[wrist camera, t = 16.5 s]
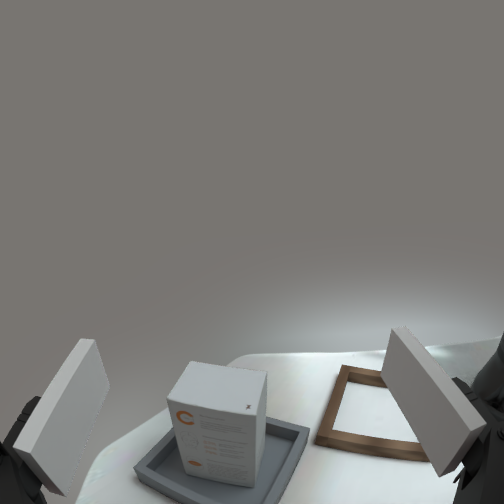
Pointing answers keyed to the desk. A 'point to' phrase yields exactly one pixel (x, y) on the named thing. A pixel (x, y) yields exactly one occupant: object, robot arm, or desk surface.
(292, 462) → the slate tray
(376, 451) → the walnut frame
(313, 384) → the desk surface
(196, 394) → the small box
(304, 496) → the desk surface
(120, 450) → the desk surface
